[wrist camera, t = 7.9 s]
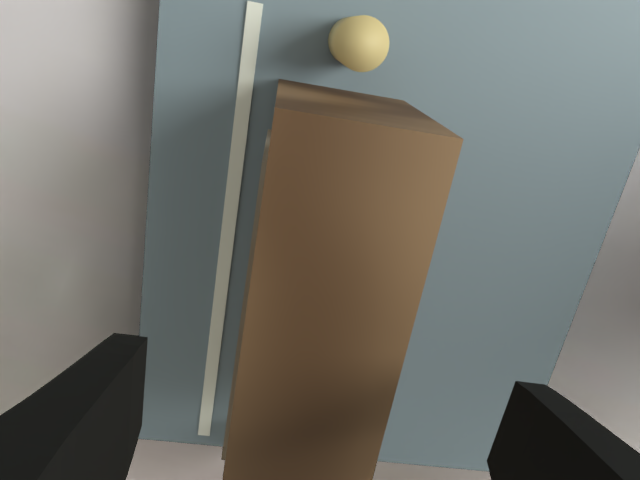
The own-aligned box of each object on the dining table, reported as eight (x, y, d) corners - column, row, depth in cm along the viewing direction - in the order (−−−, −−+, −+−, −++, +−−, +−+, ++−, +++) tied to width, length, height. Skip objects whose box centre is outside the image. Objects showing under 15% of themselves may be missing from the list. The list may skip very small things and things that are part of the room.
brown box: (404, 100, 15) (463, 138, 10) (338, 394, 19) (357, 533, 14) (275, 77, 15) (268, 106, 10) (233, 383, 18) (212, 522, 13)
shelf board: (771, -278, 13) (938, -382, 10) (501, 450, 22) (541, 531, 18) (198, -437, 12) (161, -628, 8) (141, 415, 20) (111, 496, 16)
